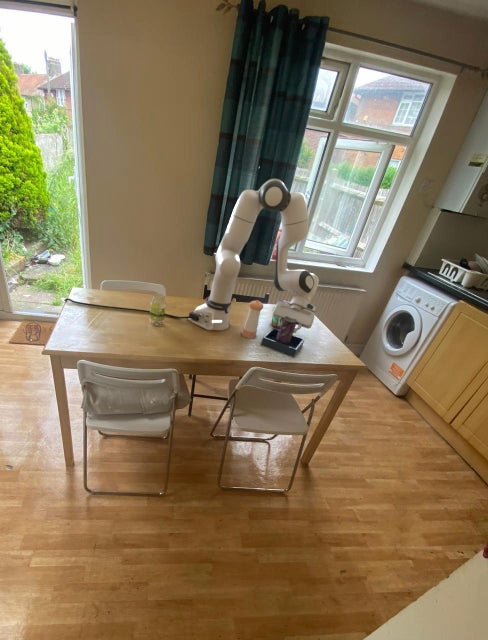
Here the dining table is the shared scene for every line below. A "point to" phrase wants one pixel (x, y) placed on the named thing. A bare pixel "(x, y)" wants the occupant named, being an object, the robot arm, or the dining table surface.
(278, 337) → the beverage can
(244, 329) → the pepper shaker
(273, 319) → the food container
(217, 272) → the robot arm
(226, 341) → the dining table surface
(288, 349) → the tray
